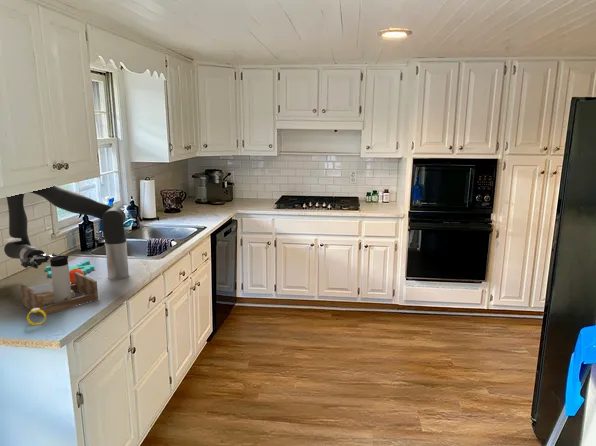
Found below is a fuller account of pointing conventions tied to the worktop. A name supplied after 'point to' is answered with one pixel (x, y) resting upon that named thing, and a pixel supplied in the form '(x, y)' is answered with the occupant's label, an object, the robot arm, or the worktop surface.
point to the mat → (42, 287)
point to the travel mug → (60, 278)
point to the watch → (33, 312)
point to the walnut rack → (82, 285)
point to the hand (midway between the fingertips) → (48, 263)
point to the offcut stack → (50, 296)
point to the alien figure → (82, 266)
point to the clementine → (72, 274)
